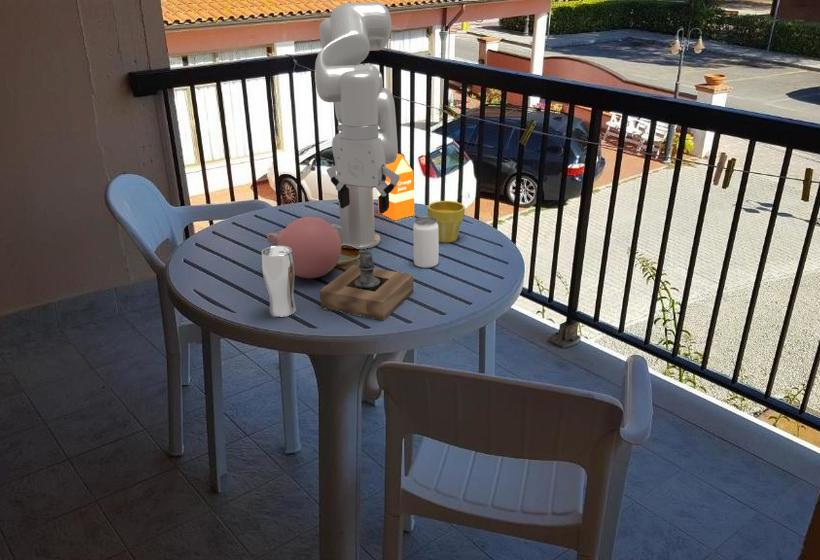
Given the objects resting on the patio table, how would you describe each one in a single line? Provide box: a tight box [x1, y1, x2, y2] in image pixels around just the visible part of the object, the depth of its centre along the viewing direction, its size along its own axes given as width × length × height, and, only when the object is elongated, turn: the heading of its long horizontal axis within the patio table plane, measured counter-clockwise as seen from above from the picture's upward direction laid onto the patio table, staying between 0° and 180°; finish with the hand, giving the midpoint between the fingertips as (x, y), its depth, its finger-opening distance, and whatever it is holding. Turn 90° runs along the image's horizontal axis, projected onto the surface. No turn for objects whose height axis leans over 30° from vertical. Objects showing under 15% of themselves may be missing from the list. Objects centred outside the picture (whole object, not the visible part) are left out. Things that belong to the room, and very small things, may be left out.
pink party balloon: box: [266, 216, 342, 279], centre depth 172 cm, size 15×20×15 cm
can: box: [412, 216, 440, 269], centre depth 177 cm, size 6×6×12 cm
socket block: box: [319, 264, 414, 322], centre depth 160 cm, size 16×16×4 cm
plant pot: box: [427, 200, 466, 243], centre depth 194 cm, size 10×10×10 cm
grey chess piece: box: [355, 248, 380, 292], centre depth 158 cm, size 6×6×12 cm
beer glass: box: [261, 245, 297, 317], centre depth 153 cm, size 7×7×15 cm
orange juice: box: [377, 153, 415, 221], centre depth 211 cm, size 8×9×20 cm
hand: (364, 209), depth 152 cm, fingers open, 9 cm apart
